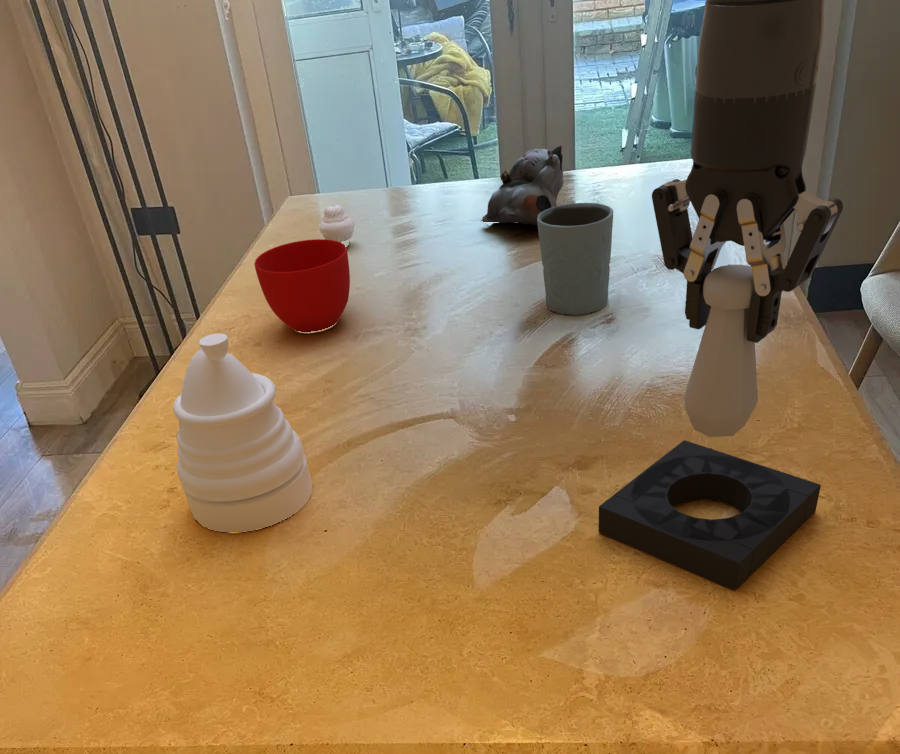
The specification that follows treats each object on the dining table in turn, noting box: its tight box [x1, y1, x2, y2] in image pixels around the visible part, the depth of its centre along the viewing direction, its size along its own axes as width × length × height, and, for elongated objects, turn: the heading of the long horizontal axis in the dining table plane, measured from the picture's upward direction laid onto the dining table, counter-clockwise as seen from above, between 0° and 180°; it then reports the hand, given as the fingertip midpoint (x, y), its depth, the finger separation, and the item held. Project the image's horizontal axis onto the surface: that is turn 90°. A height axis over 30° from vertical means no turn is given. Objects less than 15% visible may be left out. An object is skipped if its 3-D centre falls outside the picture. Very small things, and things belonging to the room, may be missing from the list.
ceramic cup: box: [254, 238, 351, 332], centre depth 122 cm, size 13×17×10 cm
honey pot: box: [172, 332, 313, 532], centre depth 84 cm, size 13×13×18 cm
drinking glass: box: [537, 202, 614, 316], centre depth 116 cm, size 10×10×12 cm
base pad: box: [598, 439, 822, 591], centre depth 77 cm, size 14×14×3 cm
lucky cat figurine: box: [480, 145, 565, 226], centre depth 144 cm, size 15×12×14 cm
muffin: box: [318, 204, 355, 242], centre depth 147 cm, size 6×6×7 cm
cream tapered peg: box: [683, 264, 759, 438], centre depth 67 cm, size 6×6×13 cm
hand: (728, 330), depth 66 cm, fingers closed on cream tapered peg, 4 cm apart
